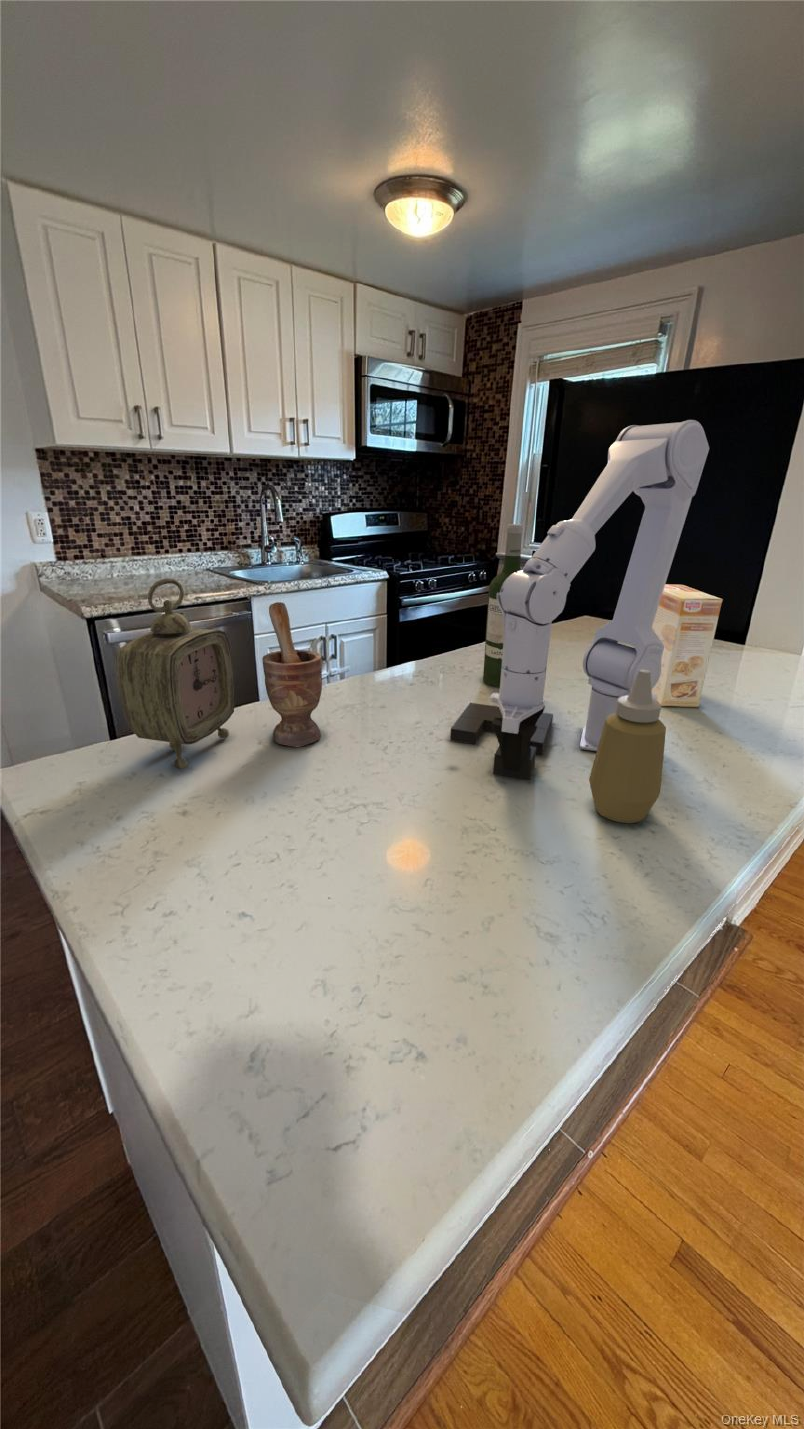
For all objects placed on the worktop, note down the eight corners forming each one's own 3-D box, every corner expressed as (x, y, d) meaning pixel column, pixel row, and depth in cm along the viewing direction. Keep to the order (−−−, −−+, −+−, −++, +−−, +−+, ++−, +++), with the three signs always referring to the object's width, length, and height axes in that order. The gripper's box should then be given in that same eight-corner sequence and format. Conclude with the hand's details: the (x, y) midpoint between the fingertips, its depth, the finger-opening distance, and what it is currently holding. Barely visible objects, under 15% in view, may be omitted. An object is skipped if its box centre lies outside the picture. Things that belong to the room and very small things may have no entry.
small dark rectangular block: (534, 766, 80) (536, 747, 79) (529, 780, 76) (531, 760, 75) (499, 760, 82) (501, 741, 81) (493, 773, 78) (494, 754, 77)
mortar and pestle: (247, 731, 90) (234, 606, 83) (292, 716, 96) (283, 598, 88) (291, 754, 83) (281, 619, 75) (336, 736, 89) (331, 609, 81)
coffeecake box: (700, 707, 102) (724, 598, 94) (660, 706, 102) (681, 598, 94) (665, 680, 115) (684, 583, 108) (630, 679, 116) (647, 583, 108)
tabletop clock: (184, 778, 76) (154, 590, 66) (127, 769, 78) (90, 585, 69) (240, 735, 89) (222, 572, 79) (190, 728, 91) (167, 569, 81)
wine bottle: (482, 686, 111) (492, 525, 99) (483, 674, 118) (493, 522, 107) (523, 689, 110) (538, 526, 98) (522, 676, 117) (536, 523, 105)
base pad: (551, 725, 94) (553, 714, 93) (541, 755, 83) (543, 743, 82) (469, 713, 98) (470, 702, 97) (450, 740, 88) (450, 728, 87)
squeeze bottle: (652, 800, 72) (681, 664, 65) (657, 835, 65) (689, 687, 58) (586, 789, 74) (606, 657, 67) (583, 822, 67) (605, 678, 60)
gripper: (504, 649, 81) (497, 736, 86) (480, 680, 68) (474, 779, 73) (554, 654, 79) (544, 743, 84) (539, 687, 66) (528, 789, 71)
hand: (514, 760), depth 78 cm, fingers open, 5 cm apart
